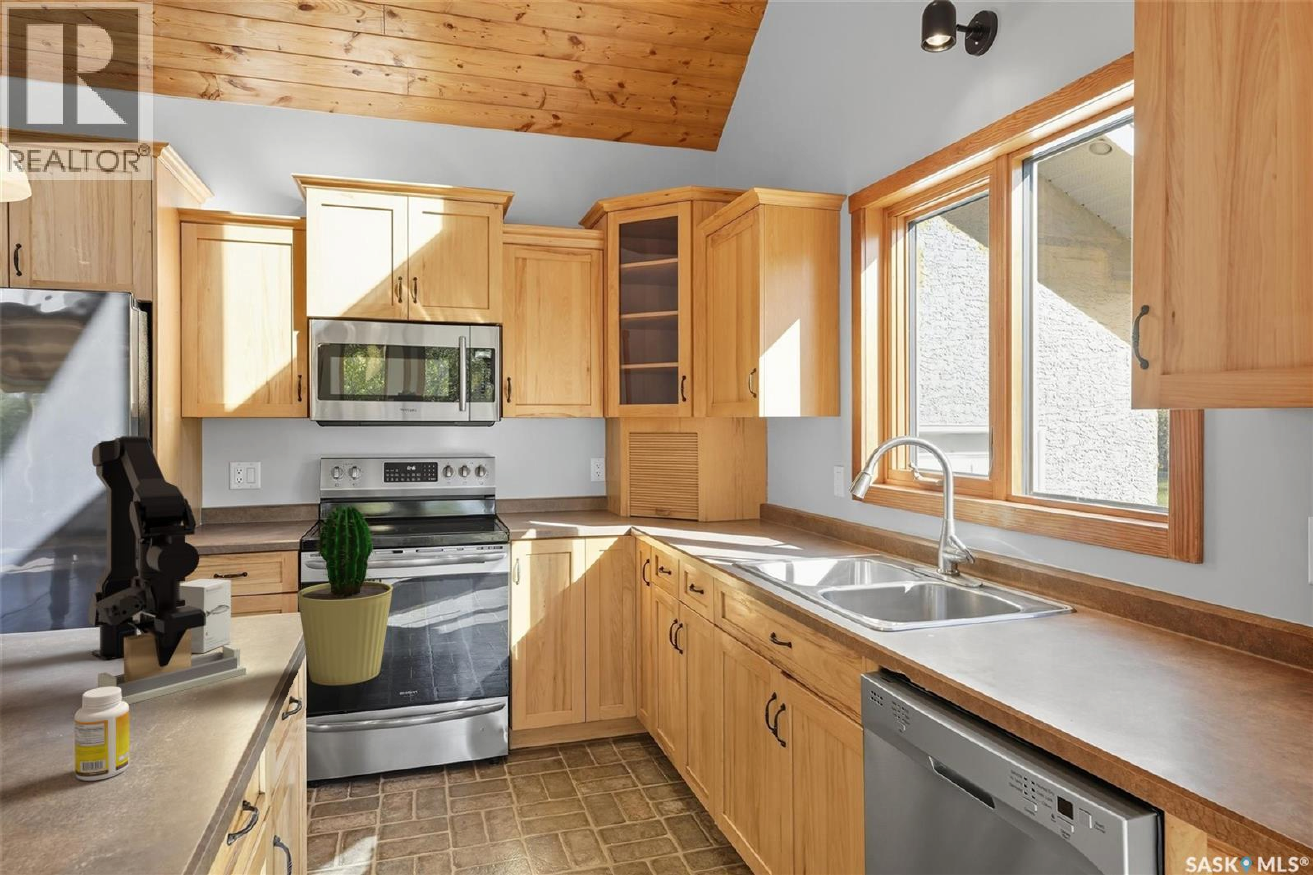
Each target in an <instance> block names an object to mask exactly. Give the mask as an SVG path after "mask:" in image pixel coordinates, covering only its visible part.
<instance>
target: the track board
mask: <svg viewBox="0 0 1313 875" xmlns="http://www.w3.org/2000/svg"><path fill="white" fill-rule="evenodd" d="M245 674H247V667H245V666H242V665H241V648H239V647H236V646H234V645H230V644H226V645H223V646H222V651H217V652H212V653H207V654H205V655H200V656H195V657H191V667H188V668H184V669H180V670H176V671H172V672H167V673H163V674H159V675H155V676H151V677H147V678H142V679H138V680H134V681H130V682H125V681H124V673H122V674H117V675H112V674H109V673H107V672H102V673H97V688H101V687H111V686H113V687H119V688H121V696H122V698H121V699H122V700H121V701H124V702H126V703H127V704H128V705H131V704H134V703H138V702H139V703H140V702H143V701H146V700H149V699H150V700H151V699H154V698H158V697H161V696H165V695H171V694H173V693H176V692H181V691H184V690H189V689H192V688H196V687H199V686H200V687H201V686H203V685H207V684H211V683H215V682H218V681H223V680H226V679H227V680H228V679H230V678H233V677H238V676H241V675H245Z"/></svg>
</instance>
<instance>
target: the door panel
mask: <svg viewBox="0 0 1313 875" xmlns="http://www.w3.org/2000/svg"><path fill="white" fill-rule="evenodd" d="M191 658H192V653H191V629H187V630H186V632H185V634H184V635H183V637H182V639H181V640H180V642H179V644H178V646H177V648H176V650H175V652H174V654H173V656H172V658H171V659H170V661H169V663H168V665H167V666H163V667H160V666H159V662H158V657H157V650H156V644H155V637H154V636H153V635H152V634H151V633H144V634H137V635H134V636H129V637H124V656H123V674H124V681H125V682H130V681H134V680H138V679H142V678H147V677H151V676H155V675H159V674H163V673H167V672H172V671H176V670H180V669H184V668H188V667H191Z"/></svg>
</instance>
